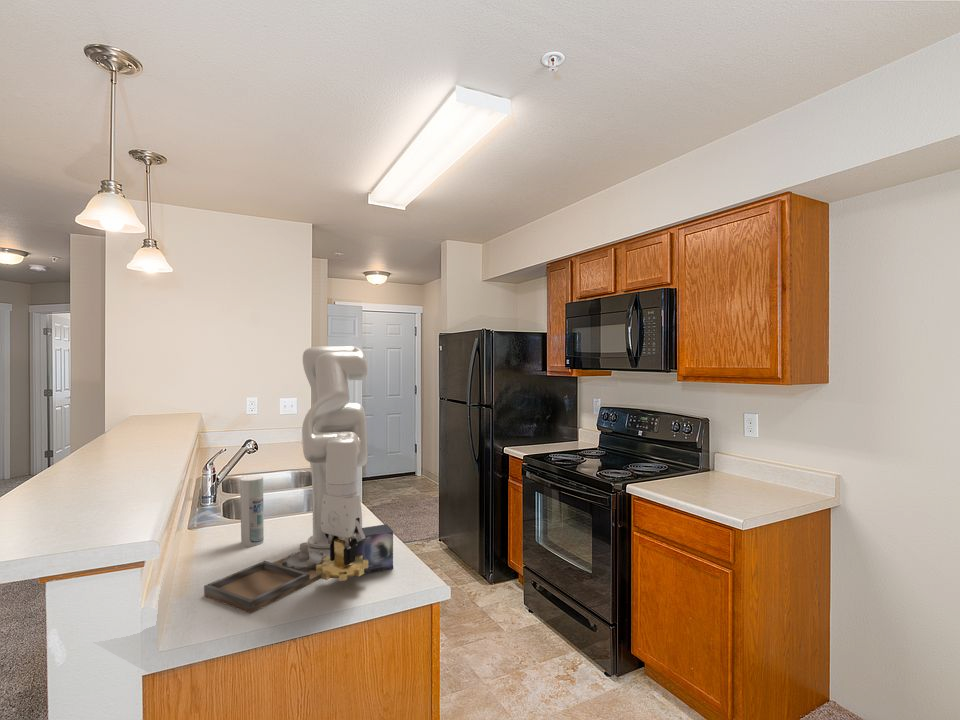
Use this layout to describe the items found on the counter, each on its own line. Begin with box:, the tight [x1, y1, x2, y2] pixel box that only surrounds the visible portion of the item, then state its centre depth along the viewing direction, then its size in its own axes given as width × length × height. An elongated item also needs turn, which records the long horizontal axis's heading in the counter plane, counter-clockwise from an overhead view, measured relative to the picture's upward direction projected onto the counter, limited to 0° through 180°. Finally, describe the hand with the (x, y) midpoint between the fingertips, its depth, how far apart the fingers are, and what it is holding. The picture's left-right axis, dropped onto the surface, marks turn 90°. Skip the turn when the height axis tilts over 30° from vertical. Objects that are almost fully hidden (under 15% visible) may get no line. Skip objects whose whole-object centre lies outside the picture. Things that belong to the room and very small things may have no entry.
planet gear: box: [316, 537, 368, 582], centre depth 129 cm, size 12×12×8 cm
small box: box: [351, 524, 394, 575], centre depth 140 cm, size 11×6×10 cm, turn 117°
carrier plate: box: [203, 542, 327, 614], centre depth 133 cm, size 29×17×6 cm, turn 150°
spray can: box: [239, 475, 265, 547], centre depth 159 cm, size 6×6×20 cm
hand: (342, 560), depth 129 cm, fingers closed on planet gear, 4 cm apart
